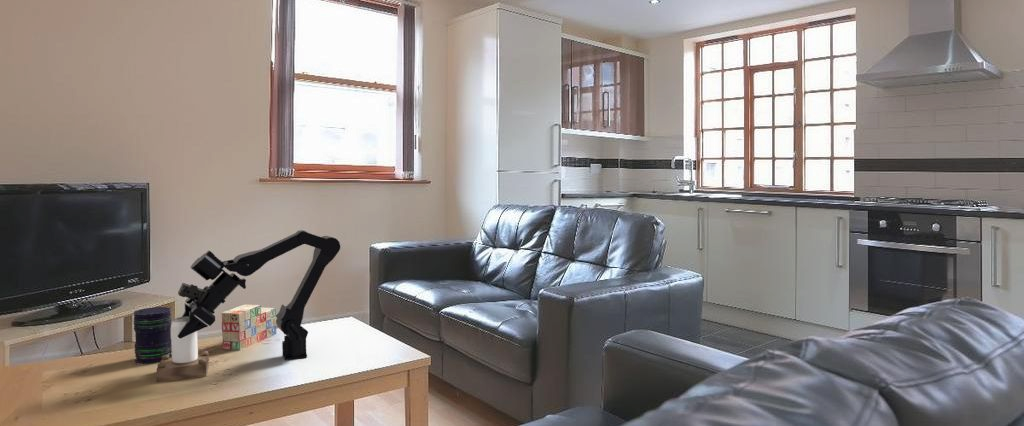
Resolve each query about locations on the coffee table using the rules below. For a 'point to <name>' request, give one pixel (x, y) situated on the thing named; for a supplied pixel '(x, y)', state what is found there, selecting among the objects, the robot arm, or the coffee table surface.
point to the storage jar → (152, 334)
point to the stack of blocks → (247, 326)
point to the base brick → (182, 368)
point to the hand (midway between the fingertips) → (177, 333)
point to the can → (183, 343)
